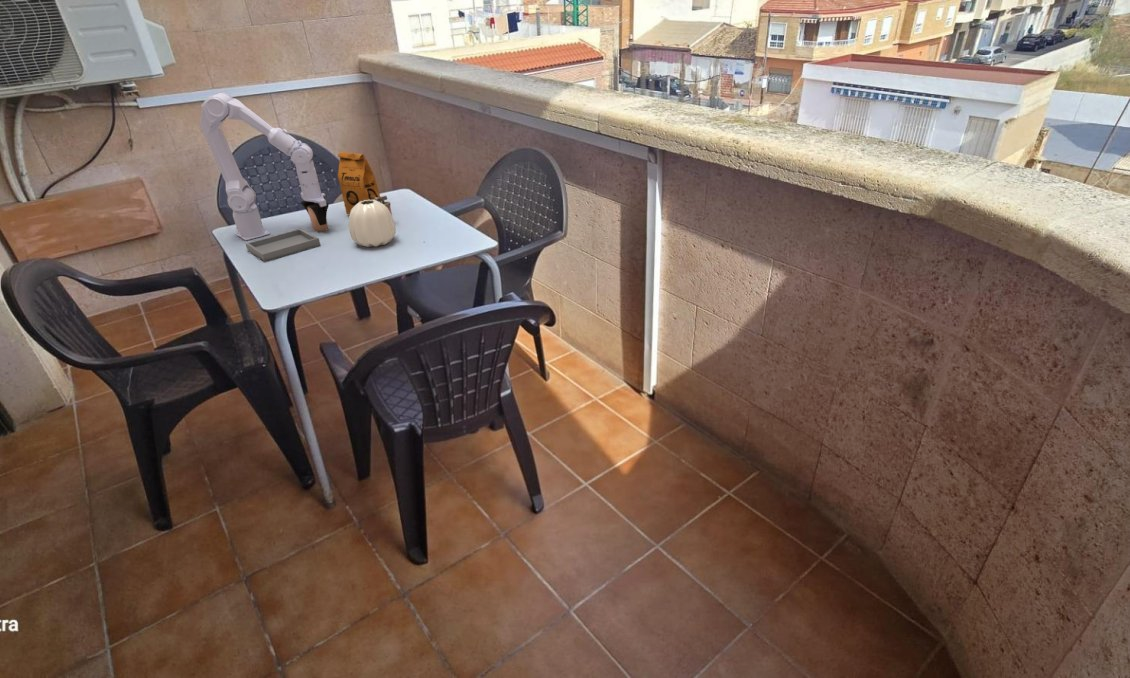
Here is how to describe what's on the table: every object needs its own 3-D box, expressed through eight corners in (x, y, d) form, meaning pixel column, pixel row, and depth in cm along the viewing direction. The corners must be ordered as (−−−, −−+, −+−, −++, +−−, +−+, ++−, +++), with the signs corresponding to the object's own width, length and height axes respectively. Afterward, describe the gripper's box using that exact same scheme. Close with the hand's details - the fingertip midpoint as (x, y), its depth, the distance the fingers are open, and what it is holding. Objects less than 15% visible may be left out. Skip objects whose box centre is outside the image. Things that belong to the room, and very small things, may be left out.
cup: (310, 229, 198) (304, 206, 193) (324, 225, 201) (318, 202, 196) (317, 232, 194) (311, 209, 190) (331, 228, 198) (325, 205, 193)
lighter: (377, 230, 195) (371, 201, 190) (370, 228, 197) (365, 199, 192) (396, 223, 201) (391, 195, 195) (390, 221, 202) (384, 193, 197)
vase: (385, 251, 178) (377, 209, 171) (344, 249, 181) (335, 207, 174) (404, 236, 190) (397, 196, 183) (366, 234, 192) (358, 194, 186)
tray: (247, 250, 182) (245, 243, 180) (302, 235, 192) (300, 228, 191) (264, 262, 174) (262, 254, 172) (320, 245, 184) (318, 238, 183)
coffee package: (368, 221, 203) (355, 157, 192) (342, 216, 208) (328, 154, 197) (388, 212, 211) (376, 151, 199) (362, 208, 216) (350, 148, 205)
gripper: (331, 184, 187) (340, 224, 194) (311, 176, 196) (320, 215, 203) (310, 189, 183) (320, 230, 190) (290, 181, 192) (301, 220, 199)
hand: (319, 222), depth 196 cm, fingers closed on cup, 5 cm apart
